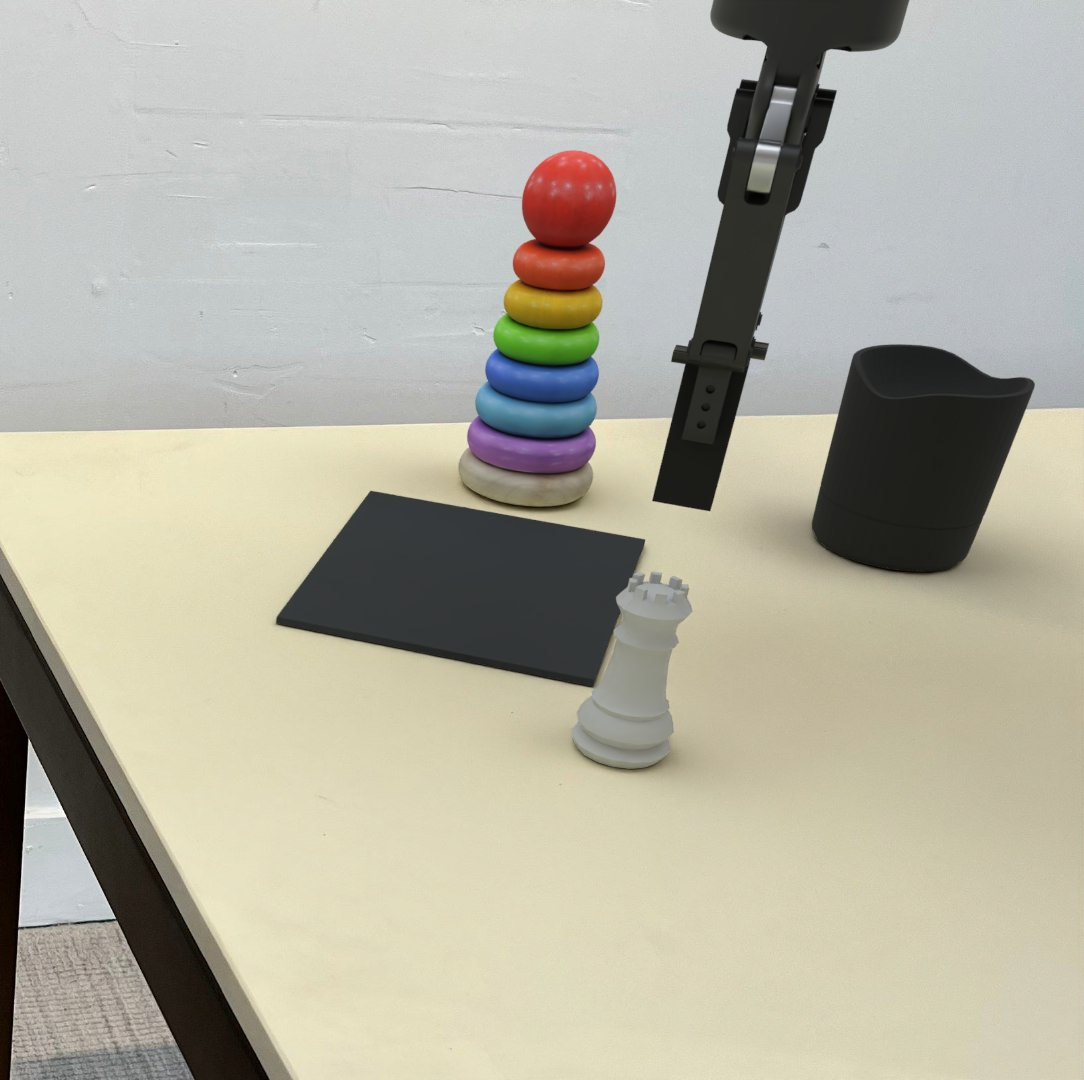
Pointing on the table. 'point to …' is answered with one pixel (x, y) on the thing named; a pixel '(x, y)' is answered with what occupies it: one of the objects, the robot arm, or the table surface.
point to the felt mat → (470, 586)
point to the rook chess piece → (635, 678)
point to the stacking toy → (546, 345)
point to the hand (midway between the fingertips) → (682, 500)
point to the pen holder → (915, 457)
